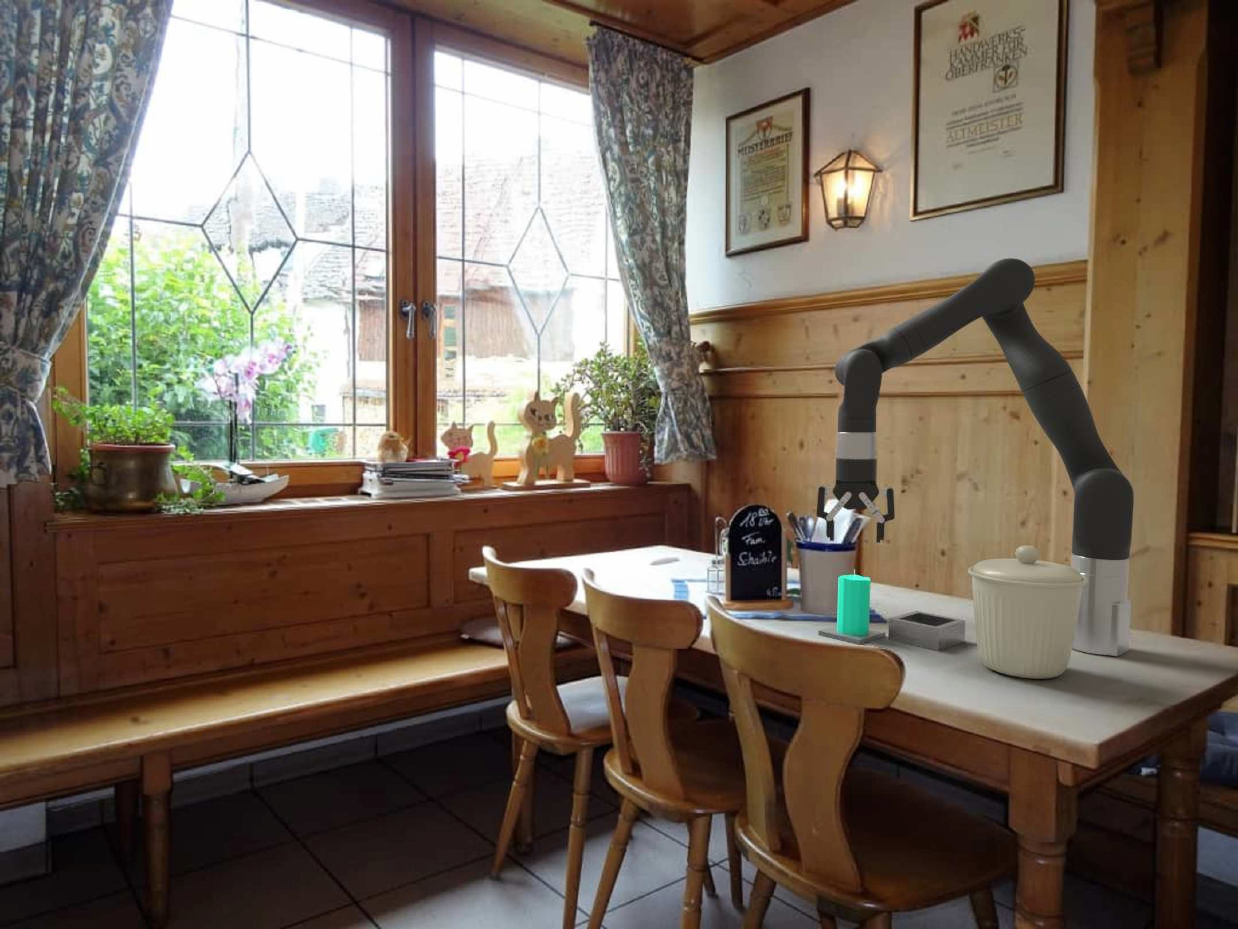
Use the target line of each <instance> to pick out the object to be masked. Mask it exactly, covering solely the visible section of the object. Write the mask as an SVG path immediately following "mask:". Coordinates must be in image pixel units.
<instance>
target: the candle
mask: <svg viewBox="0 0 1238 929" xmlns="http://www.w3.org/2000/svg"><path fill="white" fill-rule="evenodd" d="M837 580H838V581H837V584H838V587H837V612H836V613H837V614H836V615H837V618H836V619H837V620H836V626H837V631H838V632H840V633H842V634H847V635H866V634H868V633H869V629H870V614H871V613H870V612H871V608H870V606H871V578H870V577H865V576H861V575H858V574H856V569H855V568H854V569H853V574H845V575H840V576H838V578H837Z"/></svg>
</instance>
